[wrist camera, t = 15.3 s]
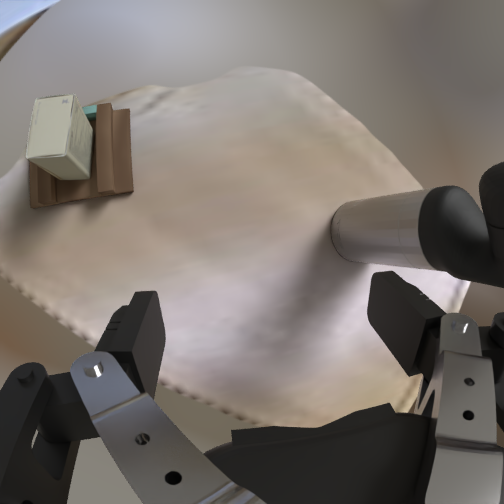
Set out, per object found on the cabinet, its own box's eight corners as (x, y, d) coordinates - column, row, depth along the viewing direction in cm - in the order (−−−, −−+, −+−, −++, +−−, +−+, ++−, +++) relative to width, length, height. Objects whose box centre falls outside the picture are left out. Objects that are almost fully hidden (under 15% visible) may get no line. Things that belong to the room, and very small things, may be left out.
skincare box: (65, 134, 32) (34, 95, 20) (96, 132, 33) (76, 90, 22) (59, 182, 32) (22, 159, 20) (92, 181, 33) (65, 155, 22)
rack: (129, 111, 35) (128, 100, 32) (133, 191, 36) (131, 187, 33) (33, 129, 31) (25, 120, 28) (33, 208, 32) (23, 205, 29)
